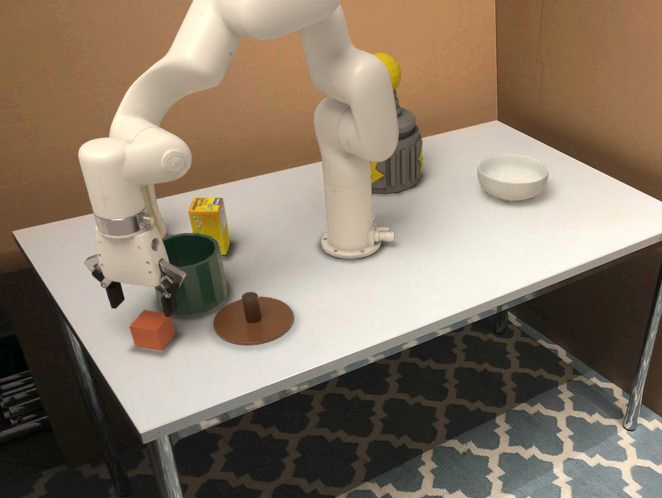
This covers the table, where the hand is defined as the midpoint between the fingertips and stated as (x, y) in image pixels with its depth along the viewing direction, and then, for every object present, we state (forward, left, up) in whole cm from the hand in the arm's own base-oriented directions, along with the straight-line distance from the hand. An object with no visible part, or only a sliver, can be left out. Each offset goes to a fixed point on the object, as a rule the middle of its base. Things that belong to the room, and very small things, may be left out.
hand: (144, 308), depth 130 cm
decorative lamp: (-36, -67, -8) cm, 77 cm away
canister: (-3, -14, -8) cm, 17 cm away
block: (0, 0, -8) cm, 8 cm away
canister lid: (-16, -6, -7) cm, 19 cm away
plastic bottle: (+11, -35, -8) cm, 38 cm away
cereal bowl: (-67, -60, -8) cm, 91 cm away
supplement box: (-3, -31, -8) cm, 32 cm away
